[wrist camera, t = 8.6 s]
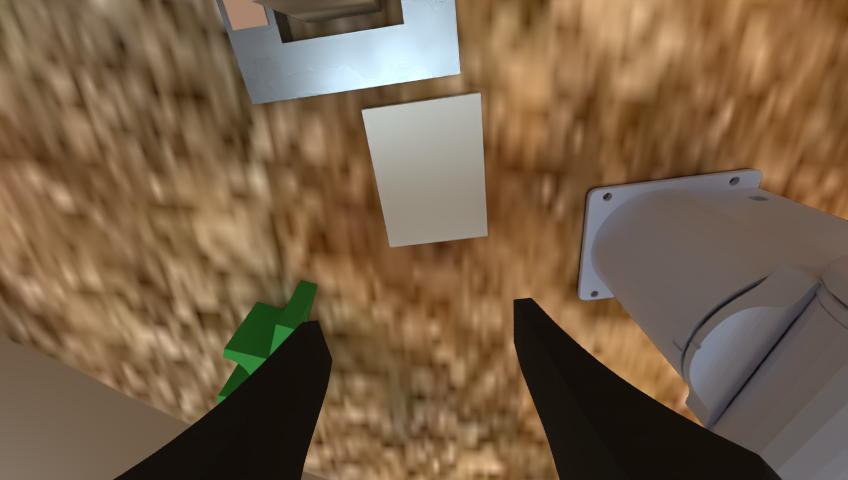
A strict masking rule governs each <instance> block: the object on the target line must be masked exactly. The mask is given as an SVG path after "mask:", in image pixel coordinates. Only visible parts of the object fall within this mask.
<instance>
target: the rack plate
mask: <svg viewBox="0 0 848 480" xmlns="http://www.w3.org/2000/svg"><path fill="white" fill-rule="evenodd" d="M216 1H217V4H218V7H219V10H220V13H221V15H222V18H223V21H224V24H225V27H226V30H227V33H228V35H229V38H230V41H231V44H232V47H233V50H234V53H235V55H236V58H237V61H238V64H239V67H240V70H241V73H242V75H243V78H244V81H245V84H246V87H247V90H248V93H249V96H250V98H251V101H252V104H253V105H254V104H260V103H267V102H274V101H280V100H287V99H294V98H301V97H307V96H314V95H321V94H327V93H334V92H341V91H348V90H354V89H361V88H368V87H375V86H381V85H388V84H395V83H401V82H408V81H415V80H422V79H428V78H435V77H442V76H449V75H455V74H460V65H459V51H458V37H457V24H456V10H455V0H401V3H402V10H403V18H404V24H402V25H396V26H389V27H383V28H377V29H370V30H364V31H358V32H352V33H345V34H339V35H333V36H327V37H320V38H314V39H308V40H301V41H295V42H293V40H292V36H291V32H290V29H289V25H288V22H287V18H286V14H284V13H281V12H278V11H276V10H273V9H270V8H268V7H265V6H262V5H260V4H257V3H254V2H251V1H250V0H216Z"/></svg>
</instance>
